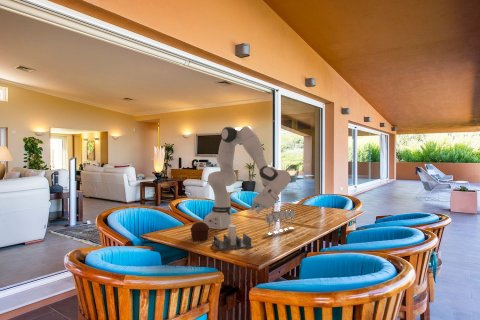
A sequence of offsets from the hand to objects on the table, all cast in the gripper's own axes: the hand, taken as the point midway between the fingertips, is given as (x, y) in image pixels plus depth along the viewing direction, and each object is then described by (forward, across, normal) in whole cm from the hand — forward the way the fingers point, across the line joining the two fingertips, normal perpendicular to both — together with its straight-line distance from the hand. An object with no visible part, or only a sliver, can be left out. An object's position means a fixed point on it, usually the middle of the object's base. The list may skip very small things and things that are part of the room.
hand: (253, 210), depth 176 cm
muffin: (+33, -17, -6) cm, 38 cm away
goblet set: (-6, -24, +33) cm, 41 cm away
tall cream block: (+22, +1, +3) cm, 22 cm away
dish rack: (+22, +1, +4) cm, 23 cm away
